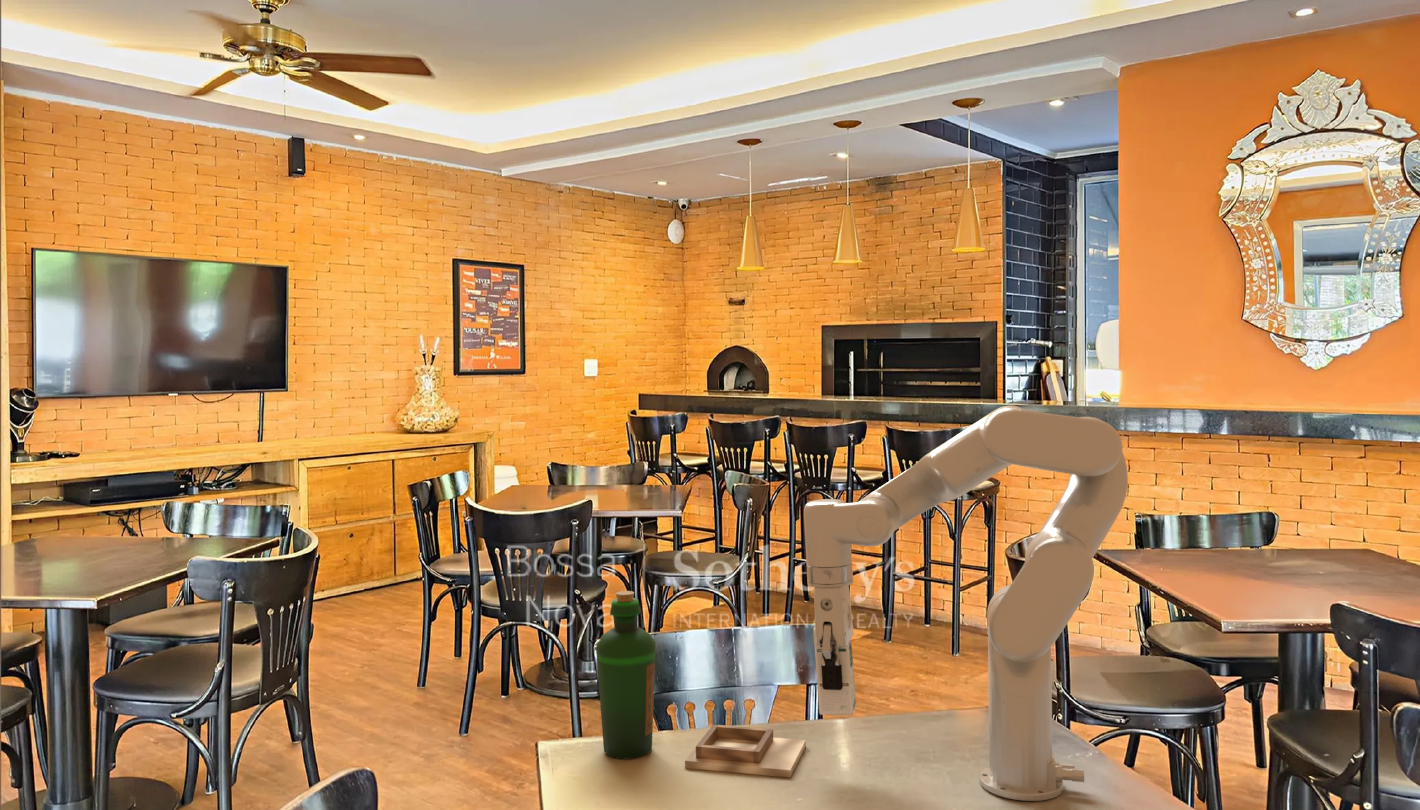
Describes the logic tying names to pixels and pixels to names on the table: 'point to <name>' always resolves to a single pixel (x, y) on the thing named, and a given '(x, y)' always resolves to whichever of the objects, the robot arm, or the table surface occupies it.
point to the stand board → (746, 751)
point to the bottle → (626, 681)
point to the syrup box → (844, 698)
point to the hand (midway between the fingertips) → (835, 682)
